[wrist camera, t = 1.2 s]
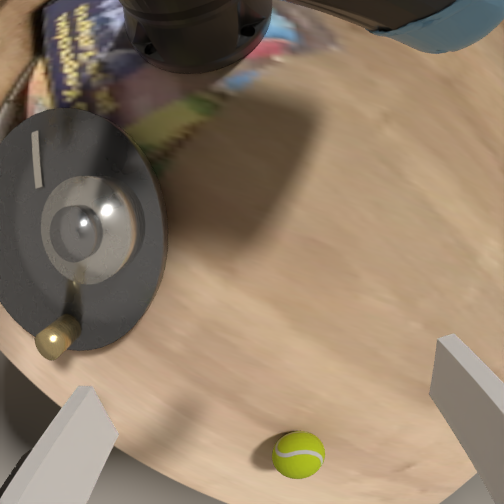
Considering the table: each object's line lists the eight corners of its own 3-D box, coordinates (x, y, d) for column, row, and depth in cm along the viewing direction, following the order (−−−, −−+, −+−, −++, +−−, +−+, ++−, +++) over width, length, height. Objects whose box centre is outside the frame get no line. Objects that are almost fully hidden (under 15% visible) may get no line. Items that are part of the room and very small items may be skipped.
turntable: (-22, 150, 27) (-59, 149, 20) (152, 81, 26) (125, 56, 19) (15, 340, 32) (-14, 363, 25) (190, 339, 31) (175, 376, 24)
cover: (58, 186, 26) (23, 189, 21) (137, 167, 26) (110, 164, 20) (74, 275, 28) (43, 293, 22) (153, 266, 28) (131, 285, 22)
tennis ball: (309, 413, 35) (317, 450, 29) (327, 441, 37) (336, 476, 30) (262, 432, 36) (263, 469, 30) (283, 458, 37) (286, 493, 31)
